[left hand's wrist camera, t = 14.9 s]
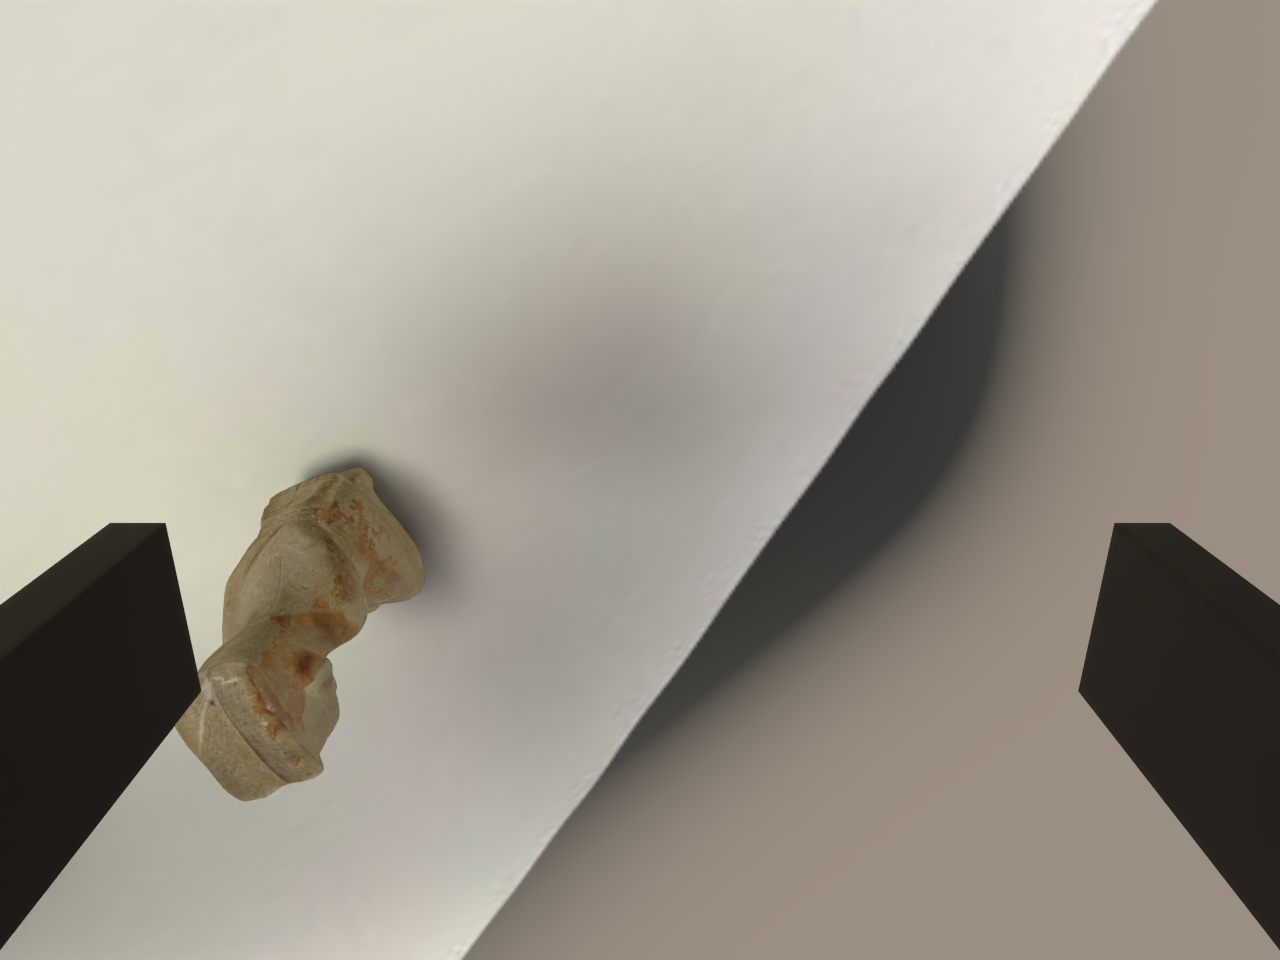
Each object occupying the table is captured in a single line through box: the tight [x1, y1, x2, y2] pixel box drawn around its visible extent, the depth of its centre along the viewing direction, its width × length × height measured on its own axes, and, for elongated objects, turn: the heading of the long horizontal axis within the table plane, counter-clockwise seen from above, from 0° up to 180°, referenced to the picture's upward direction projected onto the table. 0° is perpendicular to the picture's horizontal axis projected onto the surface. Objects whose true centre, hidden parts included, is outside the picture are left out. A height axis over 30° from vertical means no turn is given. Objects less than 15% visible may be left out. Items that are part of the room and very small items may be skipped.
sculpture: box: [175, 468, 425, 801], centre depth 35 cm, size 6×7×15 cm
